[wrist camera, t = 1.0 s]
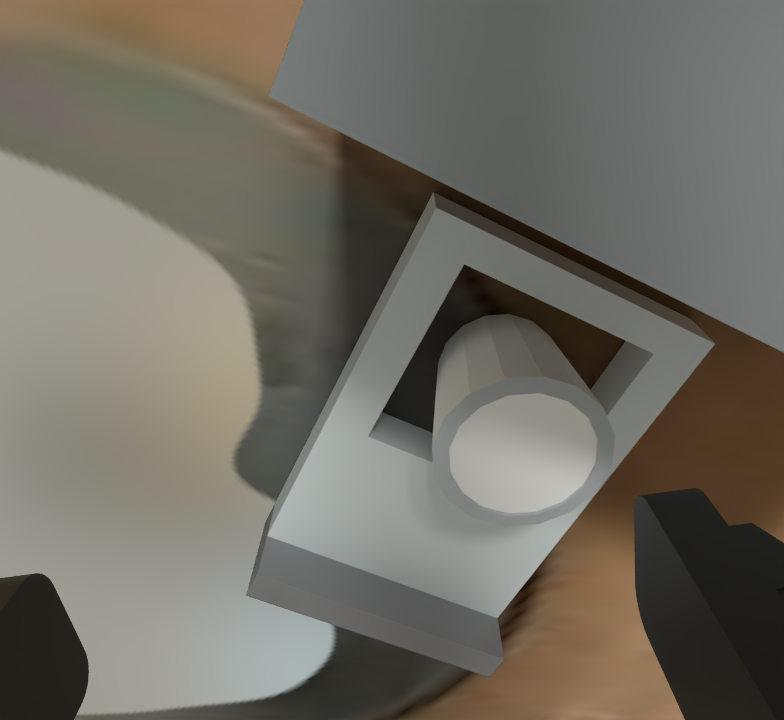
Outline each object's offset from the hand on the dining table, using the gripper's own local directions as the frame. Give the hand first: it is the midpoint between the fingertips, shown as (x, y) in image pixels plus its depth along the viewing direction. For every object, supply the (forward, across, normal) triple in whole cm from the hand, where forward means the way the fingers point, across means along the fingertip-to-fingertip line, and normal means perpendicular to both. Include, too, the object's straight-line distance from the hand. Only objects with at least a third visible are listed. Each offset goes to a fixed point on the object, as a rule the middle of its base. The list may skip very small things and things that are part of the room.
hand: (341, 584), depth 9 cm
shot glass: (+21, -5, +7) cm, 23 cm away
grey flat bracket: (+21, -2, +10) cm, 24 cm away
